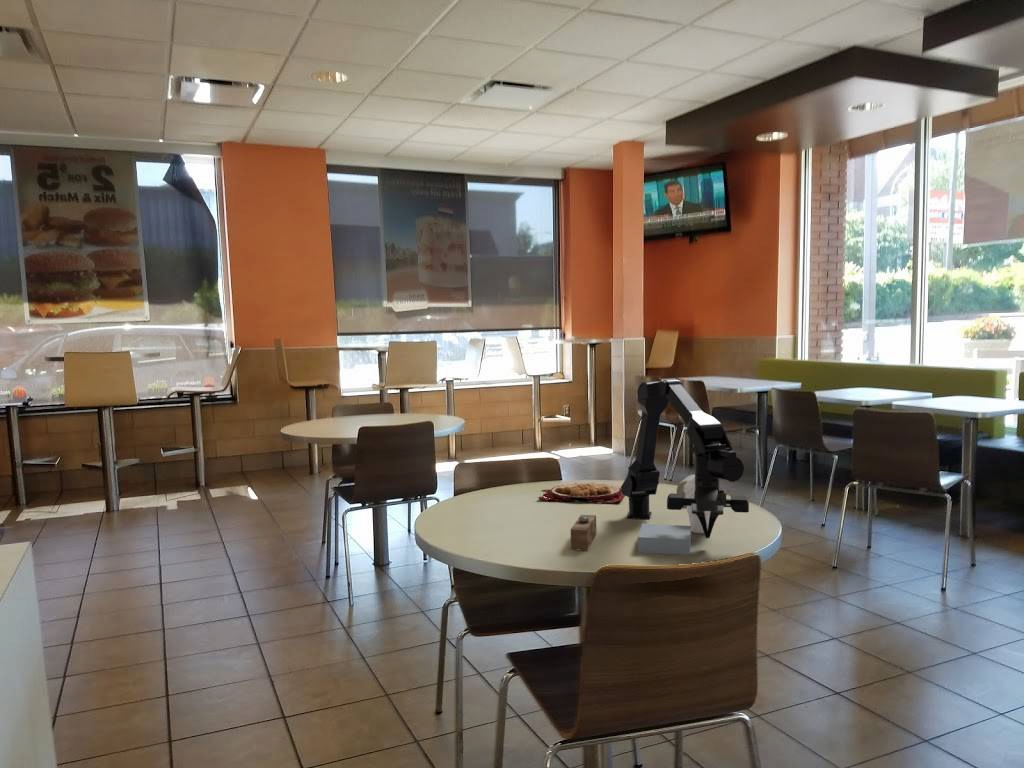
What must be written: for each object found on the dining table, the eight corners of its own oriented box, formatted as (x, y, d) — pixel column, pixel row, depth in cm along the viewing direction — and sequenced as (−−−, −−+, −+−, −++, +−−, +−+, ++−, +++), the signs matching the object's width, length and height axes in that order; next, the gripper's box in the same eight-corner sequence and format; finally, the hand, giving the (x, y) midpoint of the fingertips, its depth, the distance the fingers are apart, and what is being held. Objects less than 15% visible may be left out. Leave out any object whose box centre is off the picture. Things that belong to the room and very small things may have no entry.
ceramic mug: (674, 503, 220) (675, 478, 219) (684, 497, 226) (684, 473, 226) (709, 507, 214) (709, 481, 213) (717, 501, 221) (718, 476, 220)
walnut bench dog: (581, 533, 190) (580, 510, 190) (596, 534, 189) (596, 510, 189) (571, 549, 177) (570, 524, 176) (587, 550, 176) (586, 525, 175)
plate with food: (620, 507, 220) (620, 495, 220) (538, 501, 227) (538, 491, 227) (629, 490, 243) (629, 480, 243) (554, 486, 250) (554, 476, 250)
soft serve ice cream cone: (677, 529, 191) (676, 469, 190) (704, 525, 194) (703, 466, 193) (696, 537, 183) (695, 475, 182) (723, 533, 186) (723, 471, 185)
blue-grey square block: (642, 539, 185) (642, 523, 184) (691, 541, 182) (691, 525, 181) (637, 553, 173) (637, 537, 173) (689, 556, 170) (689, 539, 170)
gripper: (665, 479, 168) (665, 545, 169) (749, 482, 163) (750, 550, 164) (668, 470, 179) (668, 532, 180) (747, 472, 174) (747, 536, 175)
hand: (707, 537), depth 175 cm, fingers closed
